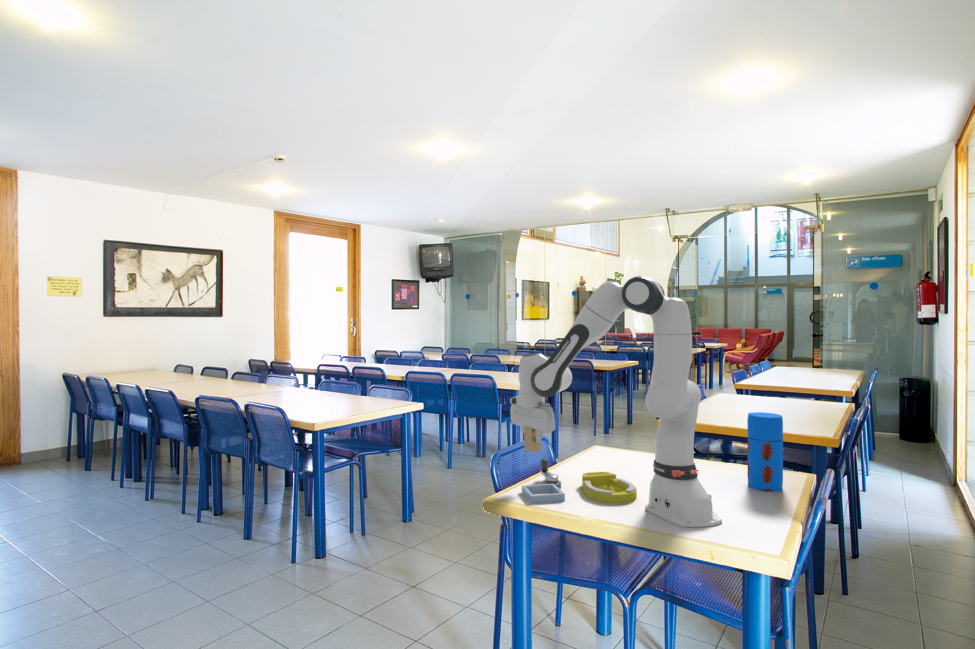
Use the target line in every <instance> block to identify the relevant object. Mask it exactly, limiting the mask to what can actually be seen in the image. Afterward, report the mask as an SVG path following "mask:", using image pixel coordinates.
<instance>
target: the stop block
mask: <svg viewBox="0 0 975 649" xmlns="http://www.w3.org/2000/svg"><path fill="white" fill-rule="evenodd" d="M523 435H524V436H523V441H524V443H523V444H524V447H523V448H524V451H527V452H530V453H535V452H536V453H537V452H540V451H542V441H541V442H540V443H536V442H534V437H536V435H537V433H536V429H532V428H529V427H524V433H523Z"/></svg>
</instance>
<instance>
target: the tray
mask: <svg viewBox="0 0 975 649" xmlns="http://www.w3.org/2000/svg"><path fill="white" fill-rule="evenodd" d="M551 492H552V493H551ZM521 493H522V495H523V496H524V497H525V498H526V499H527V501H529V503H531V504H543V503H559V502H565V501H566V494H565V492H563V491H562V490H561V489H559V488H558V487H557V486H556V485H555V484H542V483H541V484H540V483H539V484H529V485H528V484H524V485H521ZM533 493H534V494H533ZM536 493H544V494H536Z"/></svg>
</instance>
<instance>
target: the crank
mask: <svg viewBox="0 0 975 649" xmlns="http://www.w3.org/2000/svg"><path fill="white" fill-rule="evenodd" d="M539 472H540V474H541V476H543V477H544V480H545V482H546V483H558V480H559V475H558V474H555V473H551V471H549V459H548V458H541V459H540V471H539Z"/></svg>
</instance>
